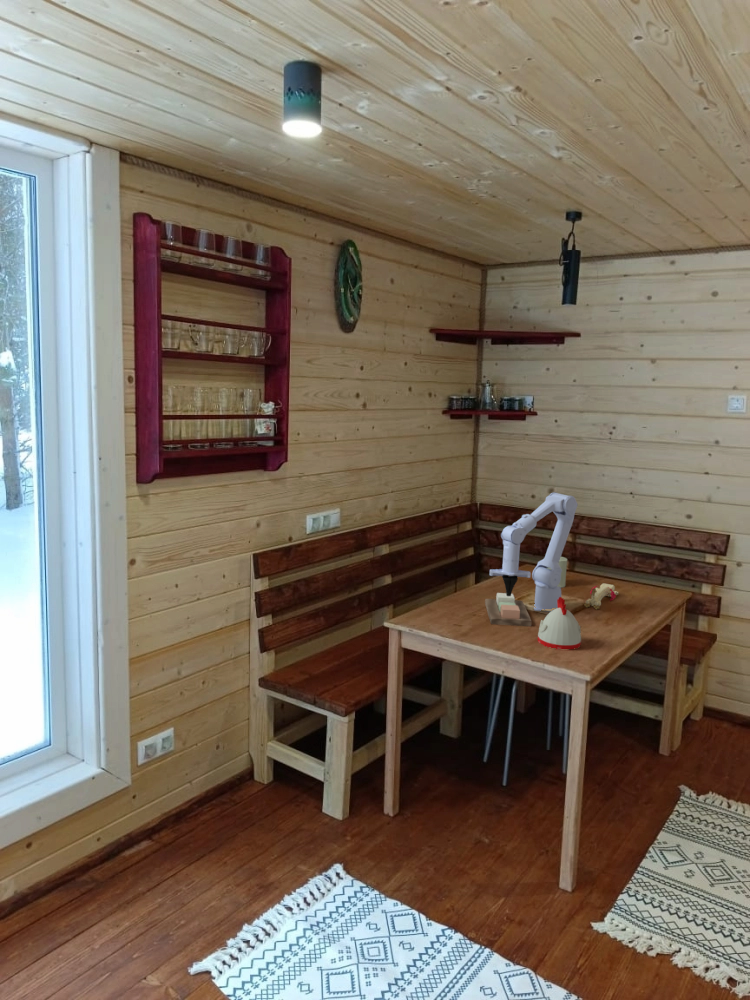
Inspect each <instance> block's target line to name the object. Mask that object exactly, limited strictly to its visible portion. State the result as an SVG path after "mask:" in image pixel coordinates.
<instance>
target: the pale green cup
mask: <svg viewBox="0 0 750 1000" xmlns="http://www.w3.org/2000/svg"><path fill="white" fill-rule="evenodd" d="M558 564H559V566H560V567H561V569H562V572H561V580H560V583H559V585H558V586H559V587H561V589H562V588H565V587H566V580H567V579H566V578H567V566H568V565H567V564H568V558H567V557H564V556H561V557H560V560H559V563H558ZM547 569H550V570H551V568H547Z"/></svg>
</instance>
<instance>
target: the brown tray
mask: <svg viewBox="0 0 750 1000" xmlns="http://www.w3.org/2000/svg"><path fill="white" fill-rule="evenodd" d="M514 603H515V604H516V605H517V606H518V607H519V609H520V618H519V619H509V618H502V617H501V614H500V613H501V612H499V609H498V605H497V602H496V598H485V600H484V605H485V607H486V611H487V615H488V618H489V623H490V624H491V625H500V626H501V625H503V626H516V627H517V626H520V627H532V619H531V617H530V614H529V612H528V611H527V608H526V605H525V604H524V601H523V600H515V601H514Z"/></svg>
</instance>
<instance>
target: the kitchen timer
mask: <svg viewBox="0 0 750 1000" xmlns="http://www.w3.org/2000/svg"><path fill="white" fill-rule="evenodd" d="M565 600H566V599H564V598H563V597H562V596H561V597H559V599H557V606H558V608H556V609H554V610H552V611H549V613H547V614H546V616H545V617H544V619H543V620H542V619H541V620H540V623H539V628H538V633H537V642H538V643H539V644H540V643H541V644H543V645H544V647H546V646H547V648H549V647H551V648H550V649H552V648H556V649H555V650H558V649H574V648H577V649H579V648H580V647H581V646H582V633H581V632H582V630H581V625H579V622H578V620H577V619H576V618H575V616H574V614H573V613H572V612H571V611H570V610H568V609H567V608H566V606H567V604H566V602H565ZM541 644H540V645H541ZM543 645H542V646H543ZM580 645H581V646H580ZM578 647H579V648H578ZM574 650H575V649H574Z"/></svg>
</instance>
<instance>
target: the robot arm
mask: <svg viewBox="0 0 750 1000" xmlns="http://www.w3.org/2000/svg"><path fill="white" fill-rule="evenodd" d="M577 508H578V502H577V499H576V497H575V496H573V495H567V494H563V493H559V492H551V493H550V494H549V495H547V496H546V497H545V500H544V502H542V503H541V504H540V505H539V506H538V507H537V508H536V509H535V510H533V512H531V513H530V514H529V513H526V514H522V515H521V518H519V519H518V520H517V521H515V522H513V523H512V525H507V526H506V527H503V530H502V531H501V533H500V537H501V539H502V545H503V552H502V553H503V554H502V565H501V566H502V567H501V568H499V569H497V568H496V569H493V568H492V569H489V576H491V577H494V576H495V577H498V576H500V577H501V579H502V581H503V583H504V587H505V593H506V595H507V596H511V594H513V589H514V587H515V585H516V584H517V582H518V578H519V577H520V578H528V579H529V578H531V577H532V580H533V581H534V584H535V590H534V603H535V604H534V606H535V607H536V608H535V607H534V608H533V610H534V611H537V612H542V611H541V610H542V609H544V610H545V609H552V608H558V606H557V599H559V597H562V588H561V587H559V586H558V585H559V583H560V580H561V572H562V569H561V567H560V566H559V564H558V563H559V560H560V557H562V554H563V552H564V550H565V549H564V548H565V546H566V543H567V541H568V537H569V535H570V530H571V528H572V526H573V524H574V523H573V522H574V518H575V514H576V511H577ZM552 512H553V514H554V515H555V516H556V518H557V521H556V523H555V527H554V531H553V533H552V535H551V539H550V541H549V545H548V547H547V549H546V553H545V554H544V555H545V556H544V557H543V559H541V560H539V561H537V564H536V566H535V567H534V569H533V570H532V573H531V571H528V570H521V569H519V567H520V566H519V564H520V551H521V550H520V548H521V543H522V542H523V541H524V539H525V538H526V536H527V534H528V533H530V532H531V531H532V530H533V529H535V528H536V526H537V522H539V521H540V520H541V519H543V518H544V517H545V516H547V515H549V514H550V513H552ZM547 568H551V570H550V569H547Z"/></svg>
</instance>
